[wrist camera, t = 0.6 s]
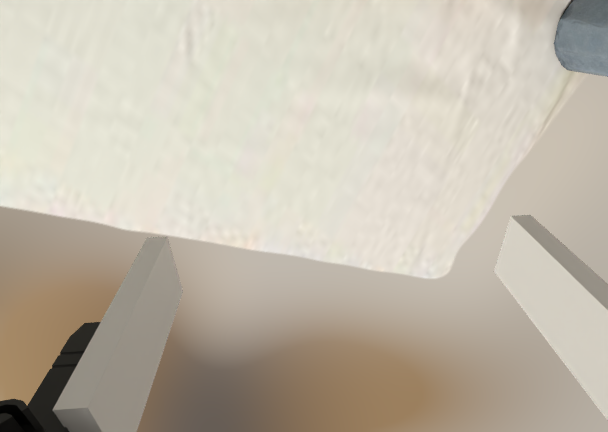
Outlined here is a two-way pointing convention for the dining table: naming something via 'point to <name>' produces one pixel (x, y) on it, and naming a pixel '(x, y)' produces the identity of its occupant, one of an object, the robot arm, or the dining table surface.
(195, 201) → the dining table surface
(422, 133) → the dining table surface
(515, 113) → the dining table surface
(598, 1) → the moka pot
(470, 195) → the dining table surface
